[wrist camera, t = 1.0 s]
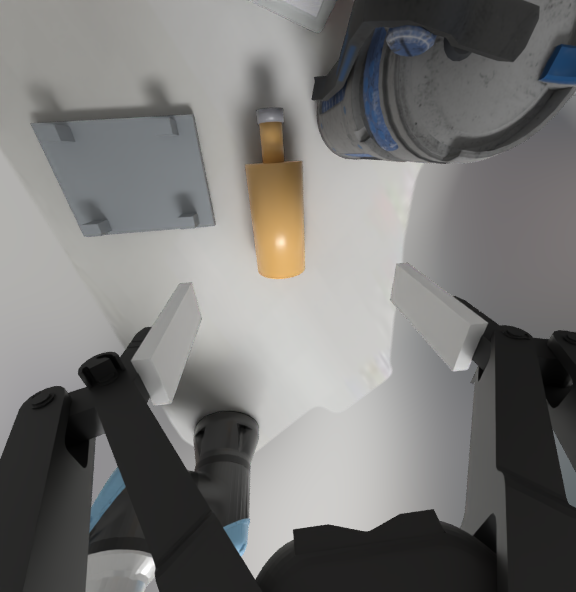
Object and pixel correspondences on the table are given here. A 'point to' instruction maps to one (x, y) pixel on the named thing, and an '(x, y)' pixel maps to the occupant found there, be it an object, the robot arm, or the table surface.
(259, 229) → the amber bottle
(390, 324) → the table surface
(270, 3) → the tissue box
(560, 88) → the smoke grenade
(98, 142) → the u rest
